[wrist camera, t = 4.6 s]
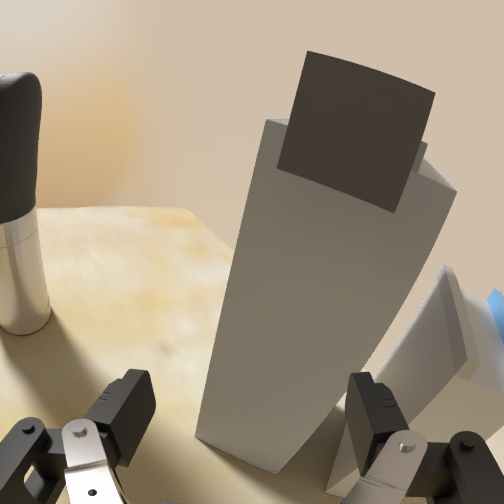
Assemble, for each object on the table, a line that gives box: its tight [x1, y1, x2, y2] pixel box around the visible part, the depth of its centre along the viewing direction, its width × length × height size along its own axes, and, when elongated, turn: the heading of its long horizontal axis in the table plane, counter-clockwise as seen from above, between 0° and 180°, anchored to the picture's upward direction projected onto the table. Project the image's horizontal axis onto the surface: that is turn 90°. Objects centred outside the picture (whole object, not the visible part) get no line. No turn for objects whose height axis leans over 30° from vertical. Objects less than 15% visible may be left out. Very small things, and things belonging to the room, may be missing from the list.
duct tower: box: [195, 119, 457, 475], centre depth 27 cm, size 14×10×34 cm
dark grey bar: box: [276, 51, 435, 213], centre depth 14 cm, size 22×4×4 cm, turn 157°
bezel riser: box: [325, 264, 504, 498], centre depth 26 cm, size 14×8×24 cm, turn 157°
